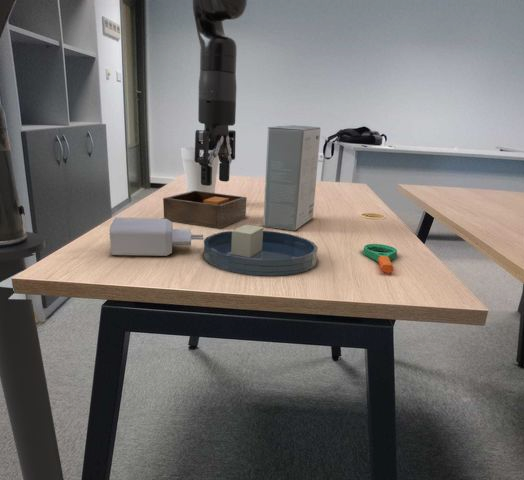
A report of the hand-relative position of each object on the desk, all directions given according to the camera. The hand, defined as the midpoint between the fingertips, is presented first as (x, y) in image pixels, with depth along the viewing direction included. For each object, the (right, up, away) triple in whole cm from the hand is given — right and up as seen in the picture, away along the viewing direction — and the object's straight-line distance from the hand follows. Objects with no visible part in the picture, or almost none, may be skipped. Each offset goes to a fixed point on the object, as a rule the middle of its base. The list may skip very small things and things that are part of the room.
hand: (215, 183), depth 102 cm
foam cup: (-6, +2, +21) cm, 22 cm away
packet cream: (+7, -19, -20) cm, 29 cm away
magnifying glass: (+31, -21, -18) cm, 42 cm away
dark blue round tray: (+10, -20, -21) cm, 30 cm away
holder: (-3, -7, +4) cm, 8 cm away
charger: (-8, -19, -20) cm, 29 cm away
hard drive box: (+16, -7, +6) cm, 19 cm away
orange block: (0, -7, +3) cm, 7 cm away
